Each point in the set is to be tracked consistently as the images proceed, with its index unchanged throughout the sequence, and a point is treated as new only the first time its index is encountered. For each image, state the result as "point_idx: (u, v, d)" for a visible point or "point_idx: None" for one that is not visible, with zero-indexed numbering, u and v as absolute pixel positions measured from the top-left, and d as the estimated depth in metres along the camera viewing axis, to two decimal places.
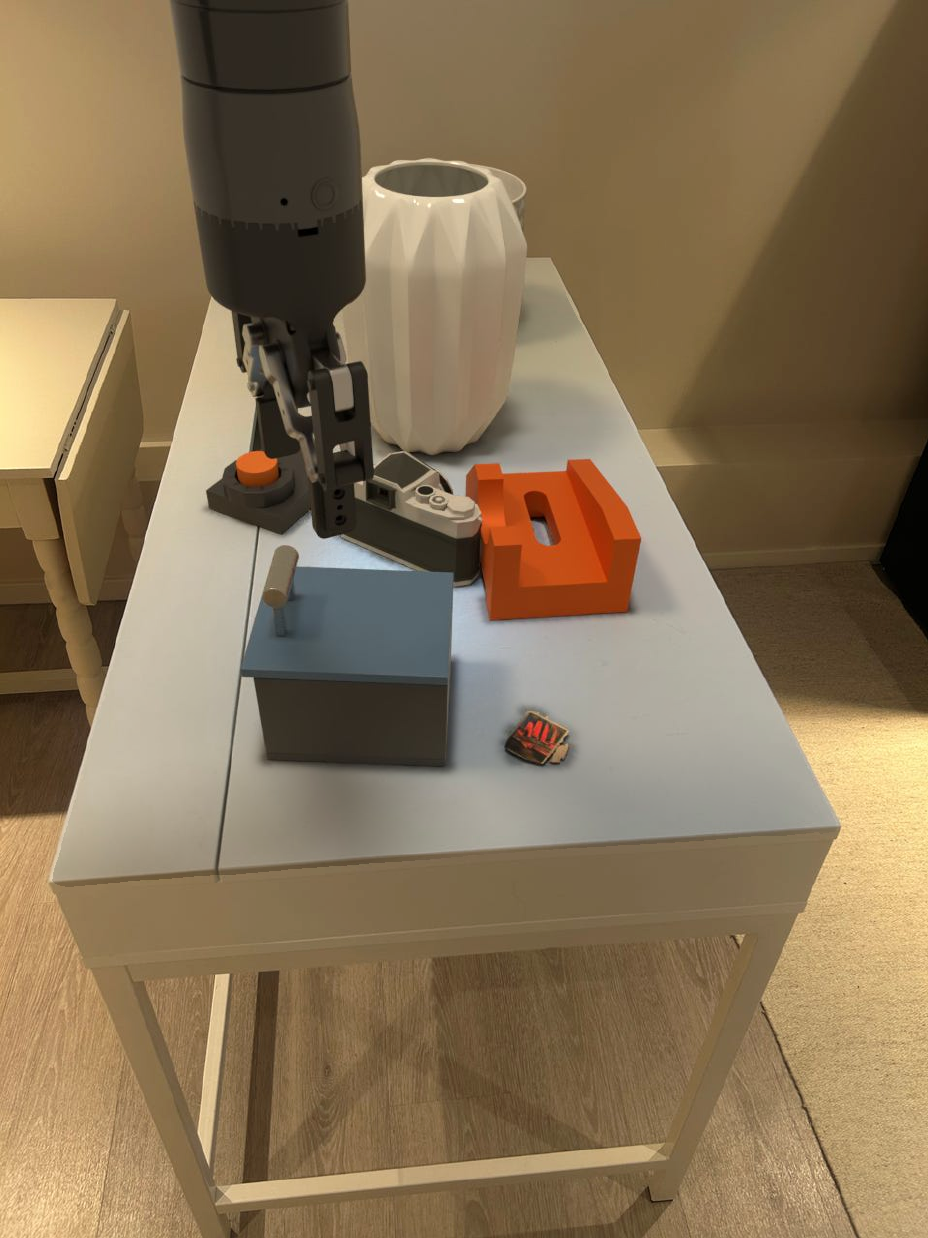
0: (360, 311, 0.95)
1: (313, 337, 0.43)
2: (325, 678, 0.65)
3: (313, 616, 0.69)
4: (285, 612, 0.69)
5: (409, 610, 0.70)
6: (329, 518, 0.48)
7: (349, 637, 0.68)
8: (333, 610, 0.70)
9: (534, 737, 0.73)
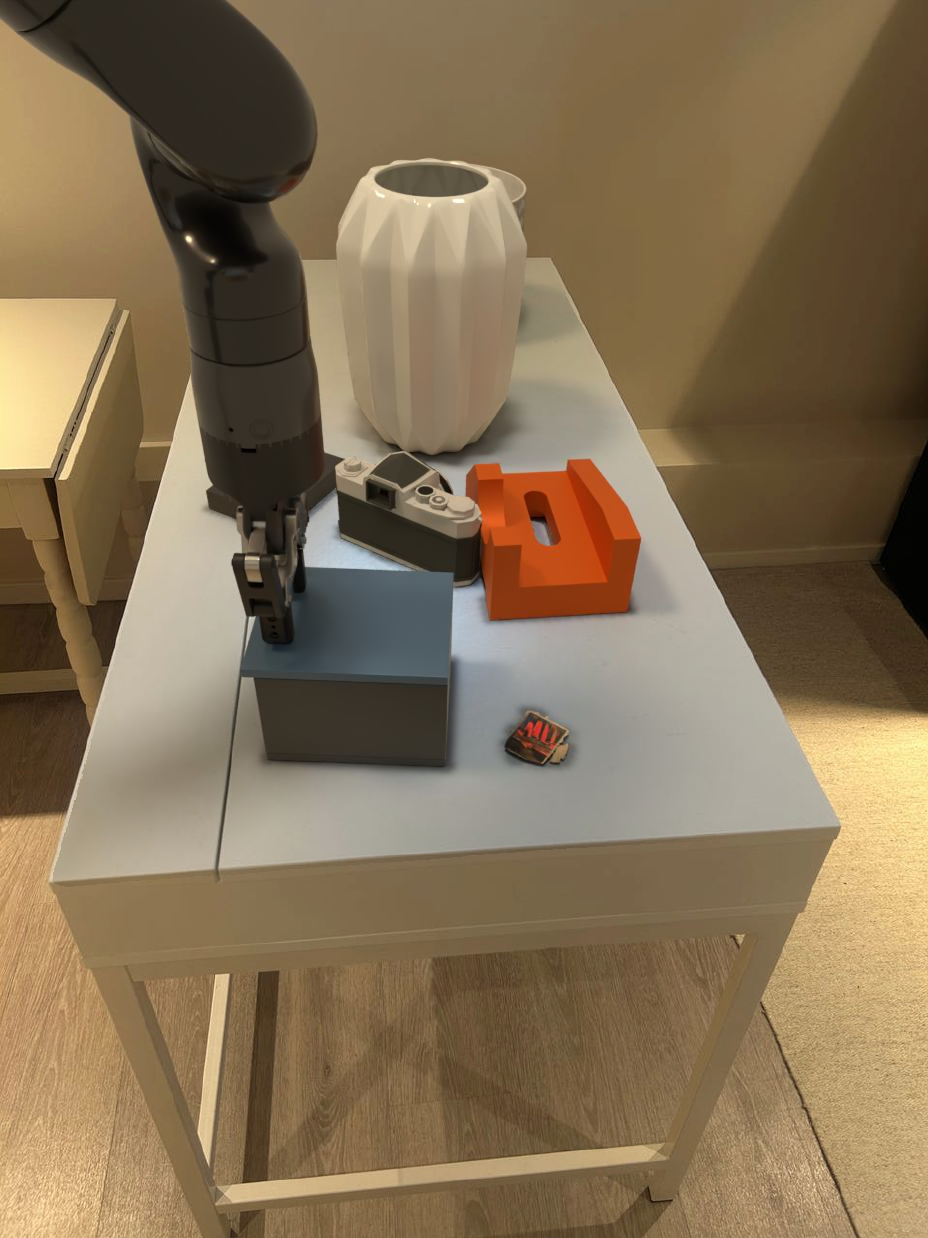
0: (360, 311, 0.95)
1: (255, 515, 0.59)
2: (325, 678, 0.65)
3: (313, 616, 0.69)
4: None
5: (409, 610, 0.70)
6: (266, 632, 0.65)
7: (349, 637, 0.68)
8: (333, 610, 0.70)
9: (534, 737, 0.73)
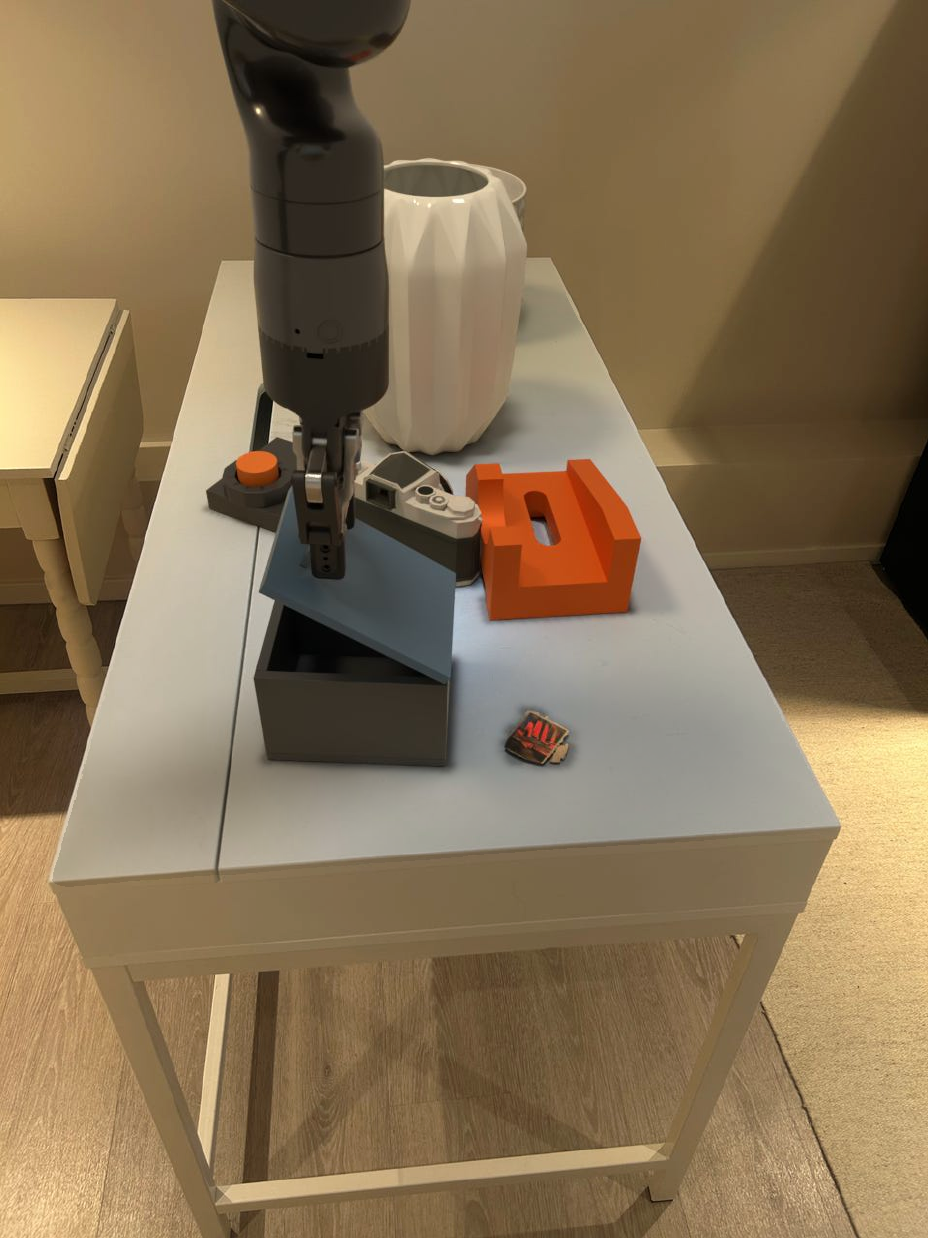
0: None
1: (316, 431, 0.55)
2: (339, 630, 0.62)
3: None
4: None
5: (419, 594, 0.69)
6: (317, 564, 0.61)
7: (366, 596, 0.65)
8: (352, 562, 0.67)
9: (534, 737, 0.73)
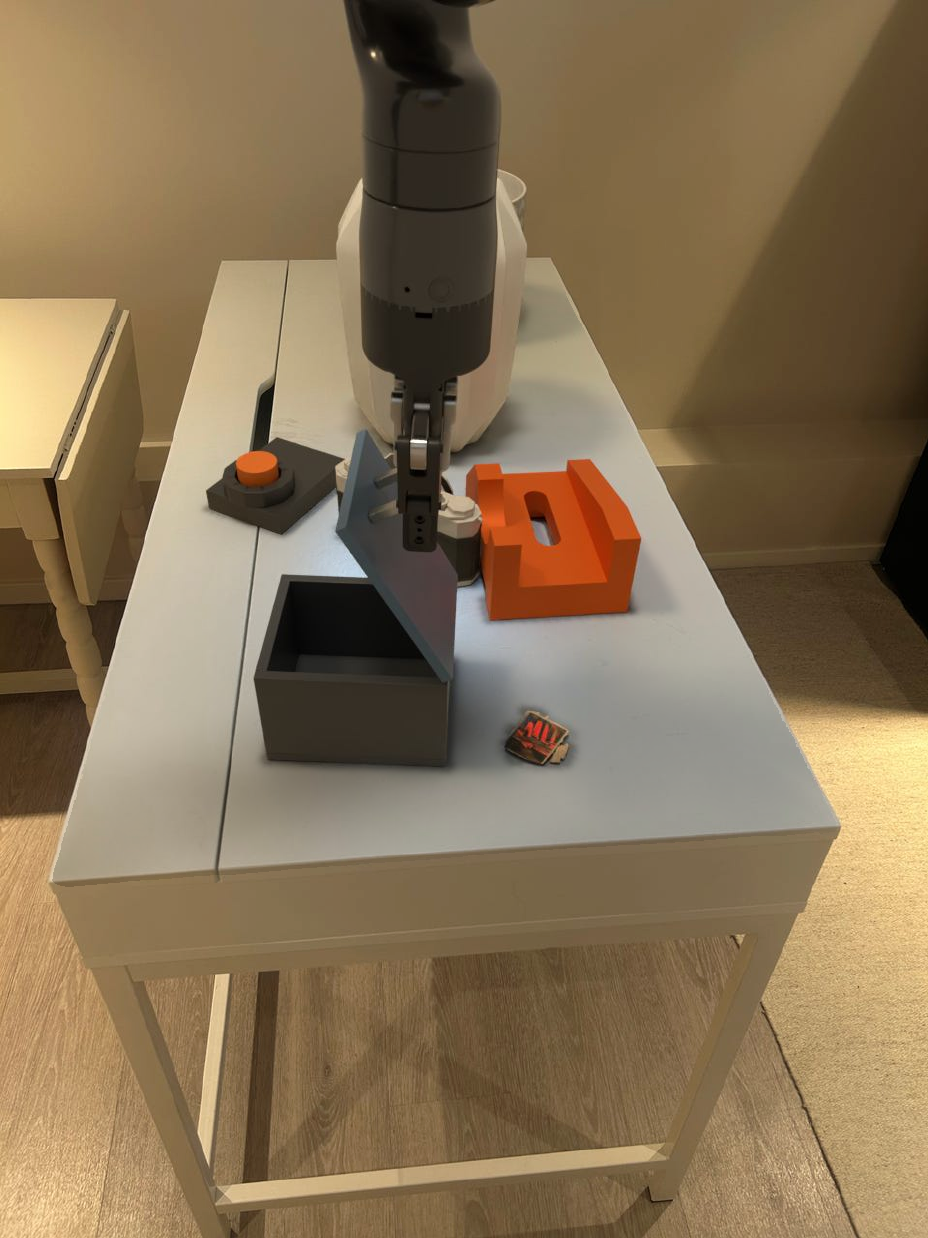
0: (360, 311, 0.95)
1: (419, 395, 0.53)
2: (385, 597, 0.60)
3: (388, 522, 0.63)
4: (373, 496, 0.62)
5: (437, 585, 0.68)
6: (410, 536, 0.59)
7: (406, 572, 0.63)
8: (399, 531, 0.65)
9: (534, 737, 0.73)
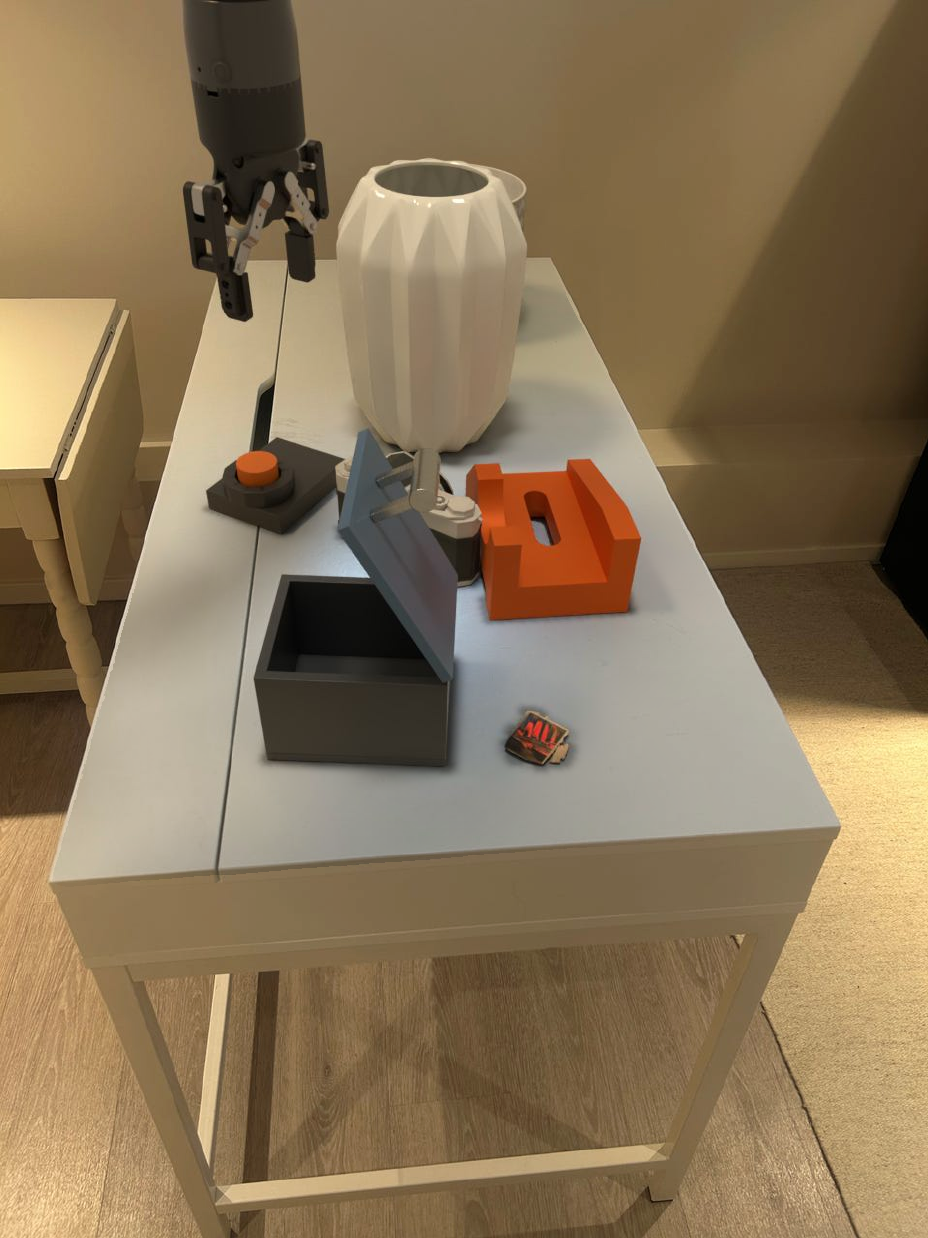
0: (360, 311, 0.95)
1: (221, 168, 0.66)
2: (386, 596, 0.60)
3: (390, 521, 0.63)
4: (375, 495, 0.62)
5: (437, 585, 0.68)
6: (222, 300, 0.71)
7: (407, 571, 0.63)
8: (400, 531, 0.65)
9: (534, 737, 0.73)
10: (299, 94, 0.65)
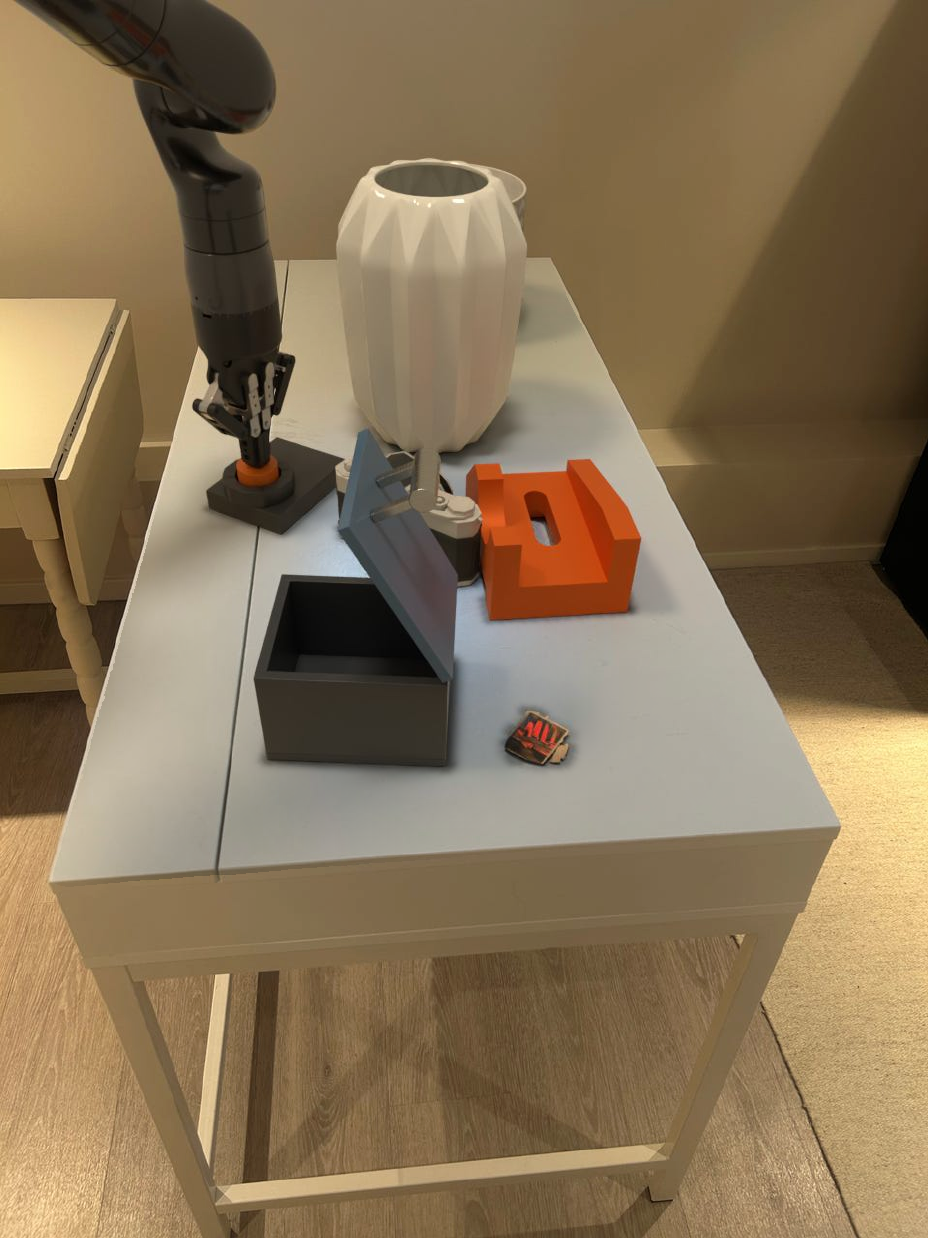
0: (360, 311, 0.95)
1: (213, 367, 0.82)
2: (386, 596, 0.60)
3: (390, 521, 0.63)
4: (375, 495, 0.62)
5: (437, 585, 0.68)
6: (242, 453, 0.91)
7: (407, 571, 0.63)
8: (400, 531, 0.65)
9: (534, 737, 0.73)
10: (276, 311, 0.81)
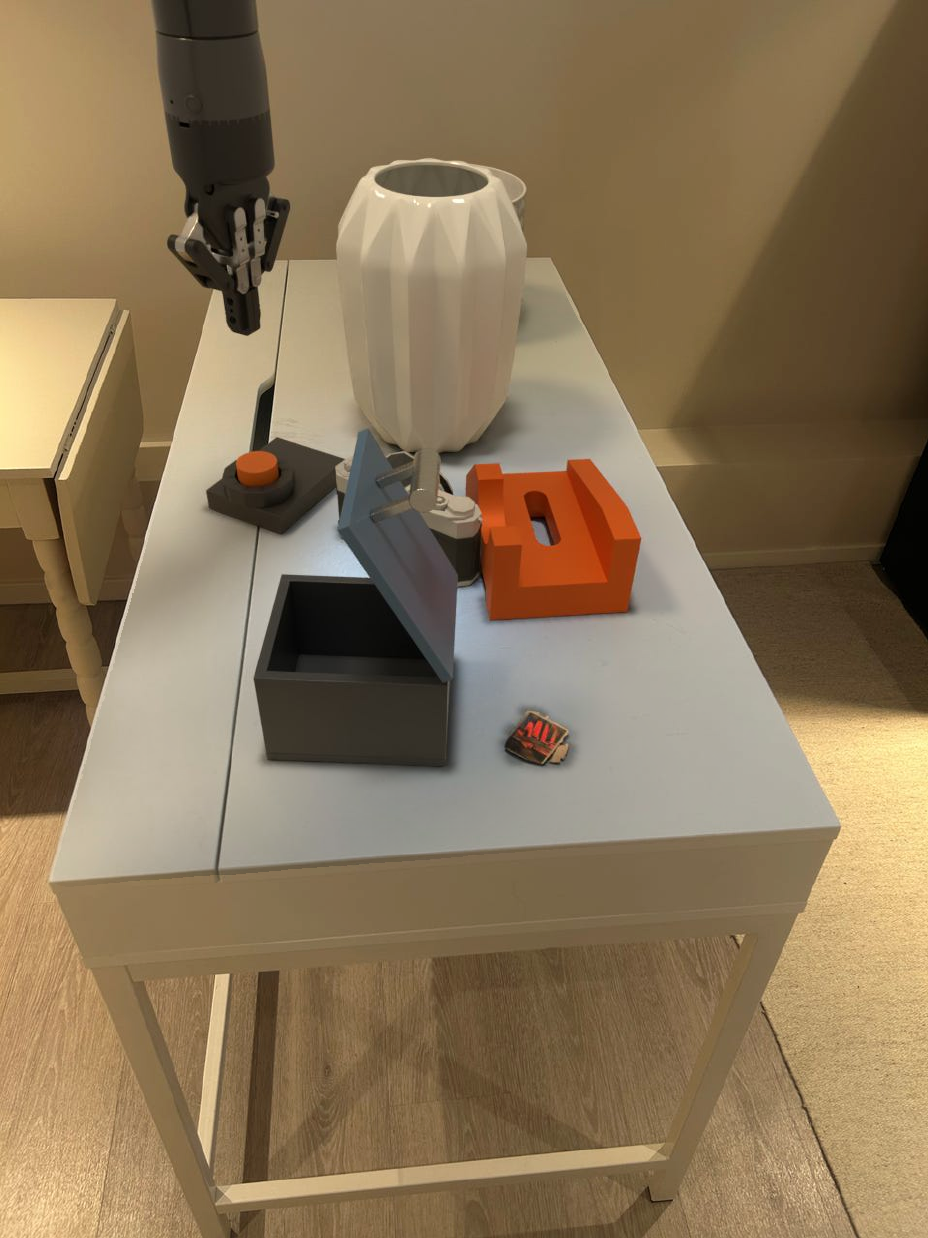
0: (360, 311, 0.95)
1: (192, 194, 0.69)
2: (386, 596, 0.60)
3: (390, 521, 0.63)
4: (375, 495, 0.62)
5: (437, 585, 0.68)
6: (227, 315, 0.77)
7: (407, 571, 0.63)
8: (400, 531, 0.65)
9: (534, 737, 0.73)
10: (268, 126, 0.68)
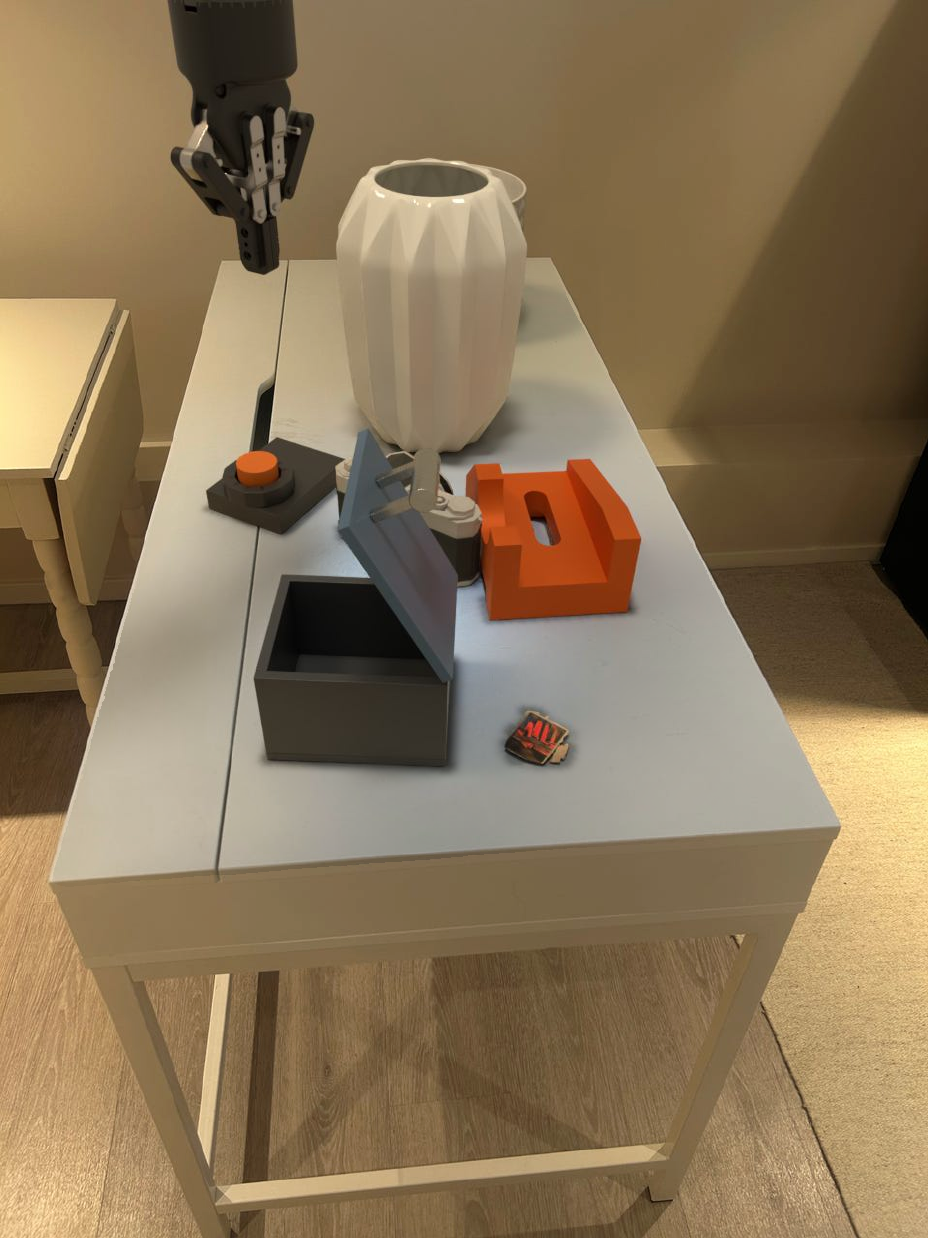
0: (360, 311, 0.95)
1: (200, 98, 0.58)
2: (386, 596, 0.60)
3: (390, 521, 0.63)
4: (375, 495, 0.62)
5: (437, 585, 0.68)
6: (241, 250, 0.66)
7: (407, 571, 0.63)
8: (400, 531, 0.65)
9: (534, 737, 0.73)
10: (290, 14, 0.57)
